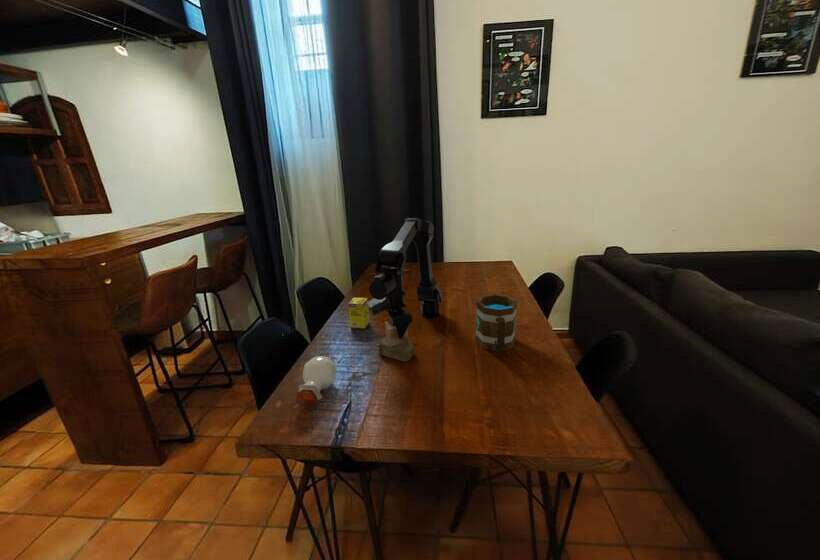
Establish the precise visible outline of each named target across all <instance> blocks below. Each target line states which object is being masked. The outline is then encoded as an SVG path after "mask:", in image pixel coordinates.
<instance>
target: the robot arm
mask: <svg viewBox="0 0 820 560" xmlns="http://www.w3.org/2000/svg"><path fill="white" fill-rule="evenodd" d="M434 233H435V226H434V224H433V223H432V222H431V221H429V220H427V221H426V220H422V219H420V218H418V217H415V218H414V217H407V218H405V219H404V222H403V225H402V226H401V228H400V230H399V231H398V233H397V234H396V236H395V237H394V239H393V240H392V241H391V242H389V243H387V244H385V245H384V246H383V247H382V248H381V249H380V251H379V253H378V254H377V255H378V256H377V260H376V262H375V263H376V265H375V268H374V274H377V275H375V276H374V279H373V280H374V281H373V280H372V282H371V283H370V285H369V287H368V290H369V294H370V296H371V297H372V299H370V300H368V309H369V310H370V311H371V313H372V315H373V316H376V315H379V314H380V313H382V312H384V311H385V312H386V313H387V314H388V318H389V321H390V322H391V323H392V325H393V326H396V330H397V333H398V337H399V339H402V338H403V336H404V334H405V332H406V330H407V328H409V326H410V324H412V323H413V322H414V319H413V315H412V313H411V312H410V311H409V310H408V309H403V308H406V307H407V304H406V303H405V299H404V298H405V295H406V291H405V290H404V283H403V282H404V280H403V278H404V277H403V271H404V270H405V268H404V267H405V264H406V260H407V255H406V251H407V249H408V247H409V246H410V244H411V242H413V243H414V244H415V246H416V251H417V260H418V268H419V277H420V278H419V279H420V281H419V283H418V285H417V286H416V295H417V296H416V297H417V300H418V301H419V302H421V304H420V313H421V314H422V316H423V317H424V318H425V319H427V318H429V319H430V318H434V317H440V316H441V313H440V309H439V305H440V303H442V302H443V301H442V299H443V293H442V292H441V290H440V289H439V284H438V282H437V281H436V279H435V278H434V277H433V265H432V256H431V254H432V253H431V245H430V243H431V241H432V239H433V238H434Z"/></svg>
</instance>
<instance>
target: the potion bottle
mask: <svg viewBox="0 0 820 560" xmlns="http://www.w3.org/2000/svg"><path fill="white" fill-rule="evenodd" d="M337 373H338V372H337V364H336V363H334V361H332V359H331V358H330V357H327V356H324V355H323V356H322V355H318V356H317V355H316V356H313V357H311V358H310V359H309V360H308V361H307V362H306V363H305V364H304V367H303V371H302V379H303V382H304V383H303V384H299V386H298V391H297V392H296V395H295V403H296V404H297V405H300V406H301V407H303V408H305V409H307V410H310V409H312V408H314V407H316V406H317V405H318V404H319V402H318V401H320V400H321V399H322V398H324V397H323V395H322V393H321V390H322V391H323V390H326V389H329V387H331V386H332V385H333V383H334V382H336V377H337Z"/></svg>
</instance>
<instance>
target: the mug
mask: <svg viewBox="0 0 820 560" xmlns="http://www.w3.org/2000/svg"><path fill="white" fill-rule="evenodd" d="M475 305H476V317H475V329H476V330H475V331H476V333H475V339H474V342H475V341H476V342H477V343H478V344H477V343H476V342H475V343H476V344H477V345H478V346H479V345H480V346H479V347H480V348H481V349H482V350H483V349H484V350H489V351H493V352H497V353H498V352H499V353H502V352H504V351H508V350H512V349H513V348H514V345H515V343H516V335H515V334H516V325H517V307H518V300H516V299H515V298H513V297H512V296H511V295H505V294H497V293H491V294H486V295H485V294H484V295H480V296H479V297H478V298H477V299H476V300H475Z"/></svg>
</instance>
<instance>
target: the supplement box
mask: <svg viewBox="0 0 820 560" xmlns="http://www.w3.org/2000/svg"><path fill="white" fill-rule="evenodd" d="M368 302H369V300H368V297H353V298H351V300H350V301H349V302H348V313H349V323H350V329H351V330H360V331H365V330H366V329H367V328H368V326H369V325H370V323H371V321H370V311H369V310H370V308H369V306H368Z"/></svg>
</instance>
